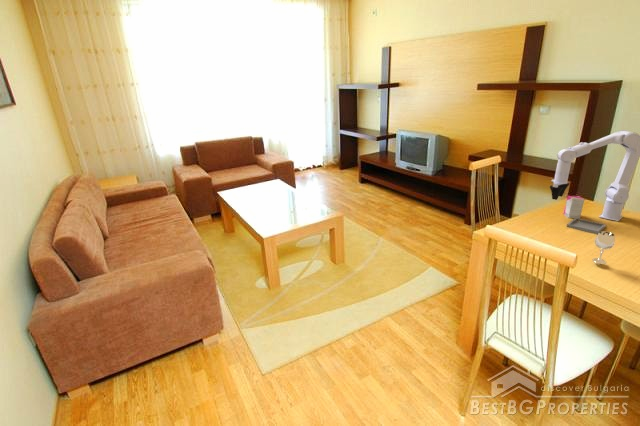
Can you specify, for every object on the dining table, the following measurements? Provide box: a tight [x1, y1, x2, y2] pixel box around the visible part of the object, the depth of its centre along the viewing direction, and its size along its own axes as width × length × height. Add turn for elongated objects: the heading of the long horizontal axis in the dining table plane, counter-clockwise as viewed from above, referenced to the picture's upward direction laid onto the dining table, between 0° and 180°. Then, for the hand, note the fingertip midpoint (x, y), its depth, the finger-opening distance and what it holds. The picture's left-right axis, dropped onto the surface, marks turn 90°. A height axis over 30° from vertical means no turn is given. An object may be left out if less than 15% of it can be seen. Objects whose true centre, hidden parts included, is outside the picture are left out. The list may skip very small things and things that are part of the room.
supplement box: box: [563, 195, 585, 219], centre depth 178 cm, size 6×6×12 cm
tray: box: [566, 218, 607, 235], centre depth 167 cm, size 13×13×2 cm
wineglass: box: [592, 230, 616, 265], centre depth 133 cm, size 6×6×12 cm
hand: (557, 197), depth 180 cm, fingers open, 7 cm apart
